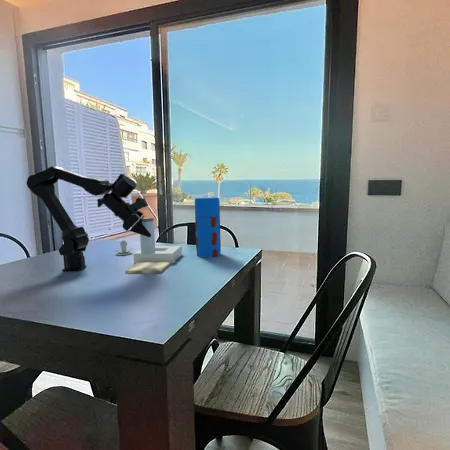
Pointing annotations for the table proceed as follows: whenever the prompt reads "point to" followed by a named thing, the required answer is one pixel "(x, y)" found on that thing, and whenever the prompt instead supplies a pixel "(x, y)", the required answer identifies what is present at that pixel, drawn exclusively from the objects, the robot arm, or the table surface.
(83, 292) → the table surface
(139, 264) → the pad
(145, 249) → the cylinder
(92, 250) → the table surface
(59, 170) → the robot arm
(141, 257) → the housing
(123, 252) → the pacifier
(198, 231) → the thermos
